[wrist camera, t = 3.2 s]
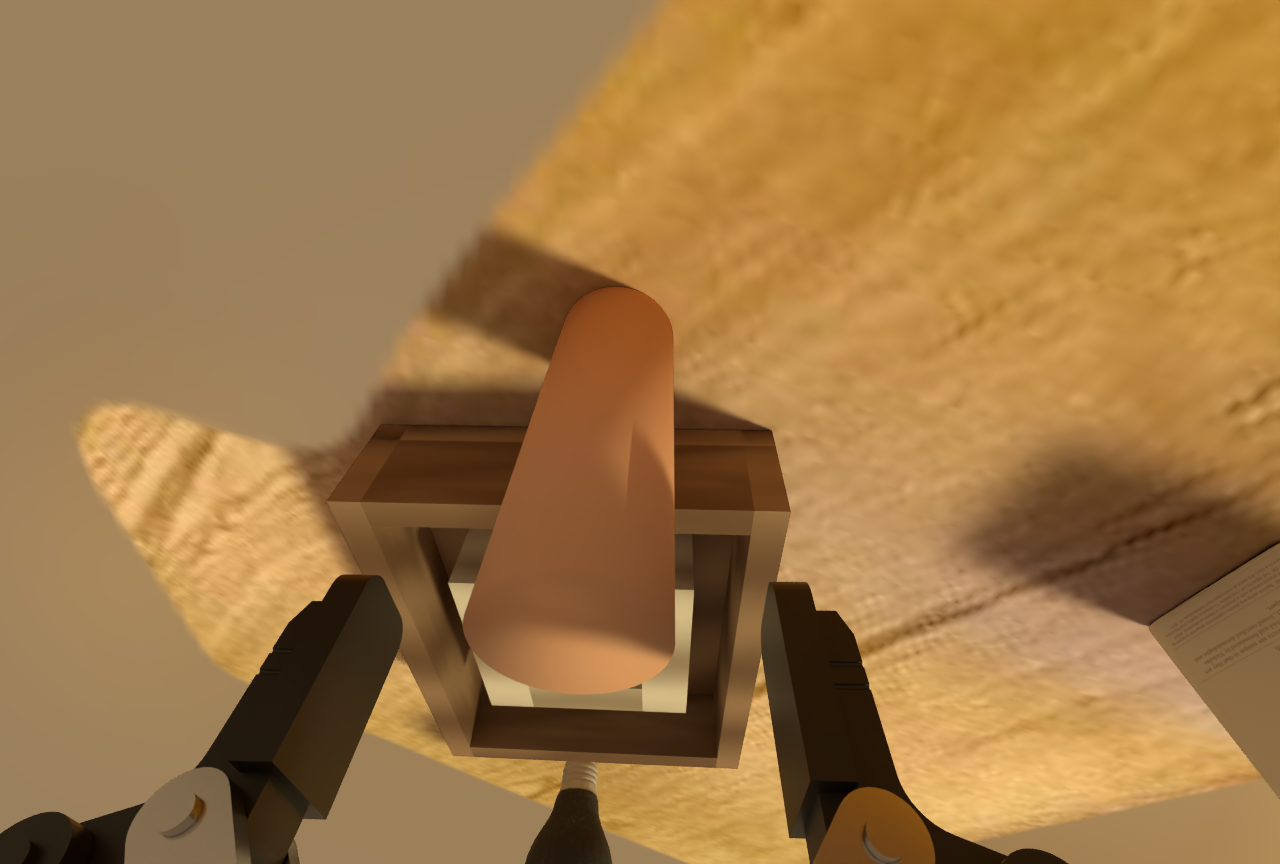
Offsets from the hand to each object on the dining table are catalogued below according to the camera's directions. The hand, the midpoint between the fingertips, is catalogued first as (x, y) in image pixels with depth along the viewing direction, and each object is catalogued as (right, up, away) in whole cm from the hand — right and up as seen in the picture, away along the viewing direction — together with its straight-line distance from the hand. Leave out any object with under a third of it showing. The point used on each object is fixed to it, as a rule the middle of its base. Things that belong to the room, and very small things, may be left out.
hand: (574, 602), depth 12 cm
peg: (+1, +7, +8) cm, 11 cm away
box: (-1, -4, +17) cm, 17 cm away
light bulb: (-3, -20, +29) cm, 36 cm away
